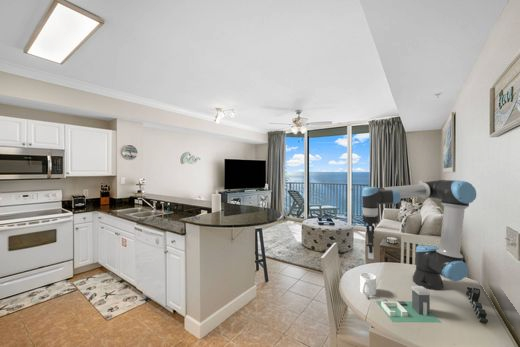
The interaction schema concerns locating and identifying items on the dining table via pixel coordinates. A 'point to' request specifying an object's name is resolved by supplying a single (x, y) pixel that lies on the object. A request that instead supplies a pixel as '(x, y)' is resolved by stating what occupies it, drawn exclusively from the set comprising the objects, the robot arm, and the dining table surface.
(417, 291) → the plug
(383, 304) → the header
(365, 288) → the mug
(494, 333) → the dining table surface
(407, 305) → the board
